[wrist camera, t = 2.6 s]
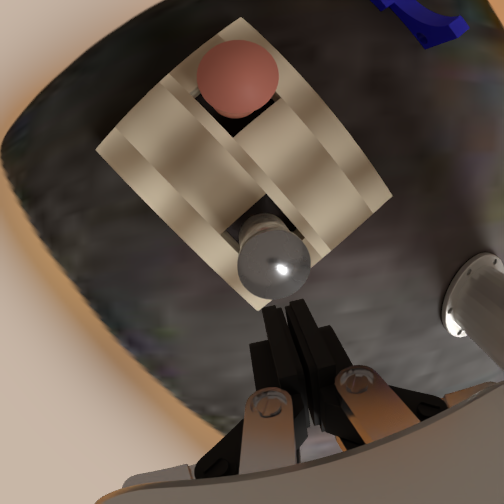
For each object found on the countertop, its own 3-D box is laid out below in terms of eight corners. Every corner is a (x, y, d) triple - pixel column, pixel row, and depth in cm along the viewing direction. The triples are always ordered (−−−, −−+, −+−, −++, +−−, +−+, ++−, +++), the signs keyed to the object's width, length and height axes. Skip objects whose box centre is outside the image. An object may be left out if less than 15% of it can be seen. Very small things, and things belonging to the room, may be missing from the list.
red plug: (278, 96, 21) (295, 79, 15) (233, 134, 22) (234, 129, 16) (238, 55, 19) (241, 26, 14) (192, 93, 20) (180, 74, 14)
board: (377, 190, 27) (392, 195, 24) (255, 295, 30) (257, 311, 27) (239, 29, 21) (241, 16, 18) (108, 148, 24) (95, 149, 21)
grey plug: (302, 238, 25) (324, 267, 19) (260, 273, 26) (270, 312, 20) (266, 197, 24) (279, 215, 18) (223, 235, 24) (221, 265, 18)
